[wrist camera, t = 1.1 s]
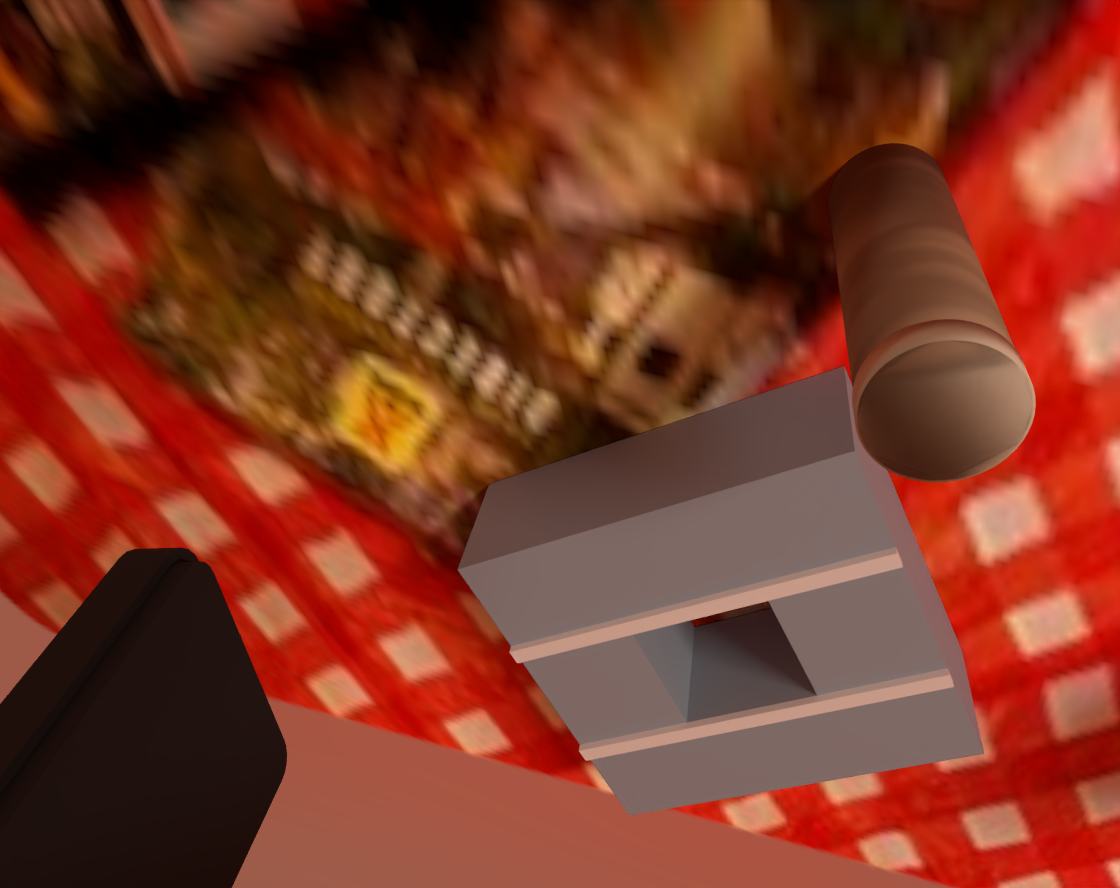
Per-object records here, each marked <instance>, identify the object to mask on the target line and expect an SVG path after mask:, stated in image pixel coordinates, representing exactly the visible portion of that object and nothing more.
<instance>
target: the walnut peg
mask: <svg viewBox="0 0 1120 888" xmlns="http://www.w3.org/2000/svg"><path fill="white" fill-rule="evenodd" d="M828 203H829V215H830V222H831V230H832V237H833V245H834V252H835V260H836V267H837V274H838V282H839V289H840V297H841V304H842V312H843V319H844V327H845V334H846V341H847V349H848V356H849V364H850V371H851V379H852V386H853V390H852V404H853V412H854V420H855V426H856V431H857V435H858V438H859V440H860V442H861V444H862V446H863V448H864V449H865V450H866V452H867V453H868V454H869V455H870V456H871V457H872V458H873V459H874V461H876V462H877V463H878V464H879V465H881V466H882V467H883V468H885V469H887V470H889V471H890V472H892V473H895V474H897V475H899V476H902V477H905V478H908V479H912V480H917V481H924V482H948V481H956V480H960V479H965V478H969V477H972V476H975V475H978V474H980V473H982V472H984V471H987V470H989V469H990V468H992V467H994V466H996V465H997V464H999V463H1000V462H1002V461H1003V460H1004V459H1006V458H1007V457H1008V456H1009V455H1010V454H1011V453H1012V452H1014V451H1015V450H1016V448H1017V447H1018V446H1019V445H1020V444H1021V442H1022V441H1023V439H1024V438H1025V436H1026V435H1027V433H1028V431H1029V429H1030V427H1031V424H1032V421H1033V418H1034V413H1035V393H1034V389H1033V385H1032V383H1031V380H1030V378H1029V375H1028V373H1027V371H1026V368H1025V366H1024V363H1023V361H1022V358H1021V357H1020V355H1019V353H1018V352H1017V350H1016V349H1015V348H1014V346H1013V344H1012V341H1011V339H1010V336H1009V334H1008V331H1007V329H1006V326H1005V324H1004V322H1003V319H1002V317H1001V314H1000V312H999V309H998V307H997V304H996V302H995V300H994V297H993V295H992V292H991V290H990V287H989V285H988V283H987V280H986V278H985V275H984V273H983V270H982V268H981V265H980V263H979V261H978V258H977V256H976V253H975V251H974V248H973V246H972V243H971V241H970V239H969V236H968V234H967V231H966V229H965V226H964V224H963V221H962V219H961V217H960V214H959V212H958V209H957V207H956V204H955V202H954V199H953V197H952V195H951V192H950V190H949V187H948V185H947V182H946V180H945V178H944V175H943V173H942V170H941V169H940V167H939V165H938V164H937V163H936V162H935V160H934V159H933V158H932V157H931V156H929V155H928V154H927V153H925V152H924V151H922V150H920V149H918V148H916V147H913V146H910V145H905V144H895V143H891V144H883V145H878V146H874V147H872V148H869V149H867V150H864V151H862V152H861V153H859V154H857V155H856V156H854V157H853V158H852V159H851V160H849V161H848V162H847V163H846V164H845V165H844V166H843V167H842V169H841V170H840V171H839V173H838V174H837V176H836V178H835V179H834V182H833V184H832V186H831V190H830V193H829V201H828Z"/></svg>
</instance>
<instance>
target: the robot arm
mask: <svg viewBox="0 0 1120 888" xmlns="http://www.w3.org/2000/svg"><path fill="white" fill-rule="evenodd" d="M286 762H287V750H286V744H285V741H284V739H283V736H282V733H281V731H280V729H279V726H278V724H277V722H276V719H275V717H274V714H273V712H272V710H271V707H270V705H269V703H268V700H267V698H266V696H265V693H264V691H263V688H262V686H261V684H260V681H259V679H258V677H257V674H256V672H255V669H254V667H253V665H252V662H251V660H250V658H249V655H248V653H247V650H246V648H245V646H244V643H243V641H242V639H241V636H240V634H239V632H238V629H237V627H236V624H235V622H234V620H233V617H232V615H231V613H230V610H229V608H228V605H227V603H226V601H225V598H224V596H223V594H222V591H221V589H220V586H219V584H218V582H217V579H216V577H215V575H214V572H213V571H212V569H211V567H210V566H209V565H208V564H206V563H205V562H200V561H198V559H197V557H196V555H195V554H194V553H192V552H191V551H190V550H189V549H185V548H156V549H134V550H130V551H127V552H126V553H125V554H124V555H122V556H121V557H120V558H119V559H118V560H117V562H116V563H115V564H114V565H113V567H112V568H111V569H110V570H109V571H108V573H107V574H106V575H105V576H104V578H103V579H102V580H101V581H100V583H99V584H98V585H97V586H96V587H95V589H94V590H93V591H92V592H91V594H90V595H89V596H88V597H87V598H86V600H85V601H84V602H83V603H82V605H81V606H80V607H79V608H78V609H77V611H76V612H75V613H74V614H73V616H72V617H71V618H70V619H69V621H68V622H67V623H66V624H65V625H64V627H63V628H62V629H61V630H60V632H59V633H58V634H57V635H56V636H55V638H54V639H53V640H52V641H51V643H50V644H49V645H48V646H47V647H46V649H45V650H44V651H43V653H42V654H41V655H40V656H39V657H38V659H37V660H36V661H35V662H34V663H33V665H32V666H31V667H30V668H29V670H28V671H27V672H26V673H25V674H24V676H23V677H22V678H21V679H20V681H19V682H18V683H17V684H16V686H15V687H14V688H13V689H12V691H11V692H10V693H9V694H8V695H7V697H6V698H5V699H4V700H3V701H2V703H1V704H0V888H232V886H233V884H234V881H235V879H236V877H237V875H238V873H239V871H240V868H241V867H242V864H243V862H244V860H245V858H246V856H247V854H248V851H249V850H250V847H251V845H252V843H253V841H254V838H255V837H256V834H257V832H258V830H259V828H260V826H261V824H262V822H263V820H264V817H265V815H266V813H267V811H268V809H269V807H270V805H271V803H272V800H273V798H274V796H275V794H276V792H277V790H278V788H279V785H280V783H281V781H282V779H283V776H284V773H285V769H286Z"/></svg>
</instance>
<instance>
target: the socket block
mask: <svg viewBox="0 0 1120 888" xmlns="http://www.w3.org/2000/svg"><path fill="white" fill-rule="evenodd" d="M852 390H853V386H852V384H851V381H850V379H849V376H848V374H847V372H846V369H845V367H844V366H843V367H839V368H836V369H833V370H830V371H827V372H824V373H821V374H818V375H815V376H812V377H809V378H806V379H803V380H800V381H797V382H794V383H791V384H788V385H785V386H782V387H779V388H776V389H773V390H770V391H767V392H764V393H761V394H758V395H755V396H752V397H749V398H746V399H743V400H740V401H737V402H734V403H731V404H728V405H725V406H722V407H719V408H716V409H713V410H710V411H707V412H704V413H701V414H698V415H695V416H692V417H689V418H686V419H683V420H680V421H677V422H674V423H671V424H668V425H665V426H662V427H659V428H656V429H653V430H650V431H647V432H644V433H641V434H638V435H635V436H632V437H629V438H626V439H623V440H620V441H617V442H614V443H611V444H608V445H605V446H602V447H599V448H596V449H593V450H590V451H587V452H584V453H581V454H578V455H575V456H572V457H569V458H566V459H563V460H560V461H557V462H554V463H551V464H548V465H545V466H542V467H539V468H536V469H533V470H530V471H527V472H524V473H521V474H518V475H515V476H512V477H509V478H506V479H503V480H500V481H497V482H494V483H491V484H489V486H488V489H487V492H486V494H485V497H484V500H483V502H482V505H481V508H480V510H479V513H478V516H477V518H476V521H475V524H474V526H473V529H472V532H471V535H470V537H469V540H468V543H467V545H466V548H465V551H464V553H463V556H462V559H461V561H460V564H459V567H458V569H457V570H458V571H459V573H460V574H461V575H462V577H463V578H464V580H465V581H466V583H467V584H468V585H469V587H470V588H471V590H472V591H473V593H474V594H475V595H476V597H477V598H478V600H479V601H480V603H481V604H482V605H483V607H484V608H485V610H486V611H487V613H488V614H489V615H490V617H491V618H492V620H493V621H494V623H495V624H496V625H497V627H498V628H499V630H500V631H501V633H502V634H503V635H504V637H505V638H506V640H507V641H508V643H509V644H510V645H511V649H510V654H511V655H512V657H513V658H514V660H515V661H516V662H517V664H518V663H523V664H524V666H525V667H526V668H527V670H528V671H529V673H530V674H531V676H532V677H533V678H534V680H535V681H536V683H537V684H538V686H539V687H540V688H541V690H542V691H543V693H544V694H545V696H546V697H547V698H548V700H549V701H550V703H551V704H552V706H553V707H554V708H555V710H556V711H557V713H558V714H559V716H560V717H561V718H562V720H563V721H564V723H565V724H566V726H567V727H568V728H569V730H570V731H571V733H572V734H573V736H574V737H575V738H576V740H577V741H578V743H579V744H580V747H579V752H580V753H581V755H582V756H583V758H584V759H585V761H588V760H591V761H592V763H593V764H594V766H595V767H596V768H597V770H598V771H599V773H600V774H601V776H602V777H603V778H604V780H605V781H606V783H607V784H608V786H609V787H610V788H611V790H612V791H613V793H614V794H615V796H616V797H617V798H618V800H619V801H620V803H621V804H622V806H623V807H624V808H625V810H626V811H627V813H628V814H629V815H634V814H639V813H646V812H652V811H657V810H663V809H669V808H675V807H680V806H686V805H692V804H698V803H703V802H709V801H715V800H721V799H726V798H732V797H738V796H743V795H749V794H755V793H761V792H766V791H772V790H778V789H784V788H789V787H795V786H801V785H807V784H812V783H818V782H824V781H830V780H835V779H841V778H847V777H853V776H858V775H864V774H870V773H876V772H881V771H887V770H893V769H899V768H904V767H910V766H916V765H922V764H927V763H933V762H939V761H945V760H950V759H956V758H962V757H968V756H973V755H979V754H984V751H983V747H982V742H981V737H980V733H979V728H978V723H977V719H976V714H975V710H974V705H973V700H972V696H971V691H970V686H969V682H968V677H967V672H966V668H965V663H964V658H963V654H962V650H961V648H960V645H959V643H958V640H957V638H956V636H955V633H954V631H953V628H952V626H951V624H950V621H949V619H948V616H947V614H946V611H945V609H944V607H943V604H942V602H941V599H940V597H939V594H938V592H937V590H936V587H935V585H934V582H933V580H932V578H931V575H930V573H929V570H928V568H927V565H926V563H925V561H924V558H923V556H922V553H921V551H920V548H919V546H918V544H917V541H916V539H915V536H914V534H913V531H912V529H911V527H910V524H909V522H908V519H907V517H906V515H905V512H904V510H903V507H902V505H901V502H900V500H899V498H898V495H897V493H896V490H895V488H894V485H893V483H892V481H891V478H890V476H889V473H888V471H887V469H885V468H883V467H882V466H881V465H879V464H878V463H877V462H876V461H874V459H873V458H872V457H871V456H870V455H869V454H868V453H867V452H866V450H865V449H864V448H863V446H862V444H861V442H860V440H859V438H858V435H857V431H856V426H855V420H854V412H853V404H852ZM766 601H769V603H770V605H771V607H772V608H771V609H767V610H763V611H759V612H754V613H750V614H746V615H742V616H738V617H734V618H730V619H726V620H722V621H718V622H714V623H710V624H706V625H702V626H698V627H694V626H693V624H692V622H691V621H690V620H694V619H698V618H702V617H706V616H710V615H714V614H718V613H722V612H726V611H730V610H734V609H738V608H742V607H746V606H750V605H754V604H758V603H762V602H766Z"/></svg>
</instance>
